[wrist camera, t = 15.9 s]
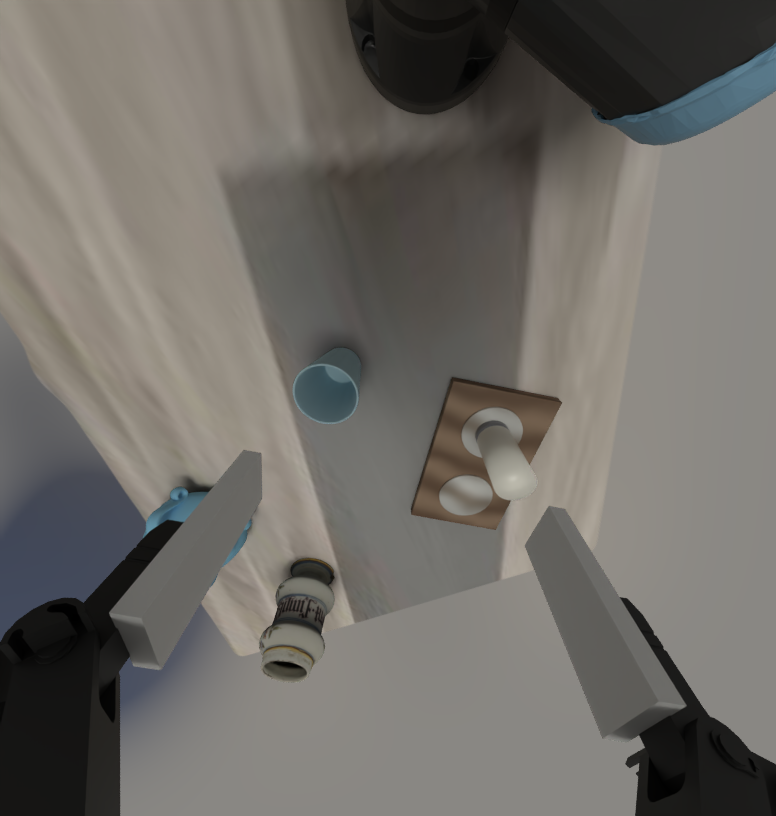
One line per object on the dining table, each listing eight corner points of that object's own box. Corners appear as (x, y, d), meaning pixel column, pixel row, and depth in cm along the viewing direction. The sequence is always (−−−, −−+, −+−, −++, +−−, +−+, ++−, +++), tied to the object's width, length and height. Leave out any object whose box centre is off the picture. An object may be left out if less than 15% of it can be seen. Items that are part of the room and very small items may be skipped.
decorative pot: (192, 465, 54) (130, 526, 42) (268, 510, 58) (232, 576, 46) (161, 512, 60) (99, 577, 48) (232, 549, 64) (191, 617, 52)
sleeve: (481, 417, 44) (502, 464, 34) (514, 423, 44) (544, 472, 34) (470, 444, 46) (487, 496, 36) (501, 450, 46) (527, 503, 36)
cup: (378, 356, 42) (370, 384, 33) (355, 397, 46) (341, 434, 36) (330, 329, 41) (307, 351, 32) (309, 374, 44) (283, 406, 35)
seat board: (452, 377, 43) (454, 382, 41) (557, 398, 44) (563, 404, 42) (411, 508, 56) (411, 516, 54) (493, 523, 56) (496, 532, 55)
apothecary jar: (343, 588, 69) (324, 689, 53) (293, 588, 70) (260, 687, 54) (334, 554, 63) (310, 655, 47) (280, 554, 64) (238, 654, 48)
